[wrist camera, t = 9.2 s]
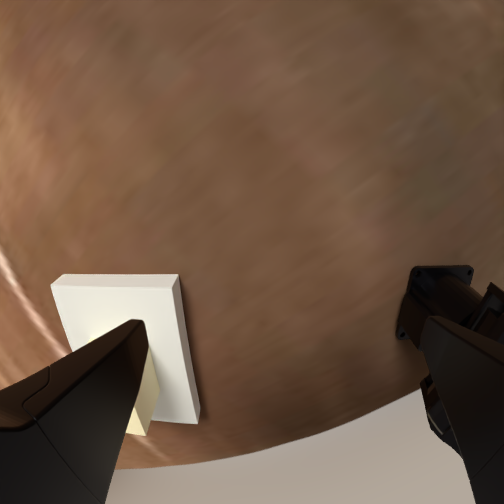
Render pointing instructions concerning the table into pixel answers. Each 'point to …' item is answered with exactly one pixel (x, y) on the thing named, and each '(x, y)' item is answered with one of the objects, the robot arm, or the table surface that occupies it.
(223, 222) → the table surface
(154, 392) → the sticky note cube
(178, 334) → the notebook
